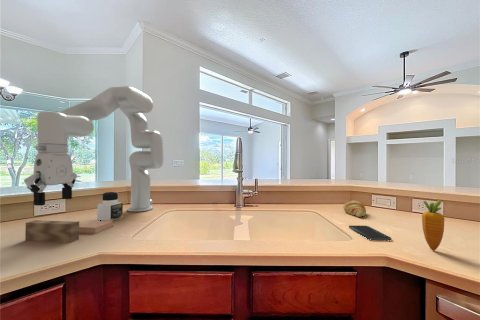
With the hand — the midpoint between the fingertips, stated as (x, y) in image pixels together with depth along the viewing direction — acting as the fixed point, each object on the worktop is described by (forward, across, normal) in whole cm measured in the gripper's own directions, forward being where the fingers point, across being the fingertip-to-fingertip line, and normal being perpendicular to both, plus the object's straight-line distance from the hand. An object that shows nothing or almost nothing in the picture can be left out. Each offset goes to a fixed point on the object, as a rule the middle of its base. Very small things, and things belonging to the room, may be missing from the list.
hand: (54, 201), depth 72 cm
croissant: (+15, +49, -117) cm, 128 cm away
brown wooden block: (+12, -1, 0) cm, 13 cm away
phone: (+14, +16, -108) cm, 110 cm away
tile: (+12, +11, -2) cm, 16 cm away
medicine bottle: (+14, +26, -1) cm, 29 cm away
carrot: (+13, +2, -119) cm, 120 cm away
